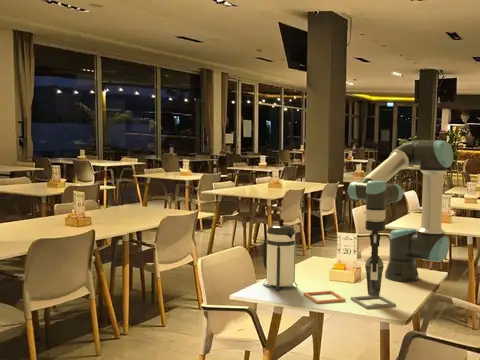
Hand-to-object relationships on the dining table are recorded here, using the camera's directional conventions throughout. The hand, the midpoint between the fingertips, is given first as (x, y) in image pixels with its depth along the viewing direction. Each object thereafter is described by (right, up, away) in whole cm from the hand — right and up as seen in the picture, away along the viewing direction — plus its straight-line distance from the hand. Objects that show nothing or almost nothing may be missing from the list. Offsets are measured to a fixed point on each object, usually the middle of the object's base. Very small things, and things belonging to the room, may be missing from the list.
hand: (374, 277), depth 223 cm
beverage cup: (0, -7, +1) cm, 7 cm away
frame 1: (-19, -10, +6) cm, 22 cm away
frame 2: (0, -10, +1) cm, 10 cm away
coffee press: (-37, -8, +24) cm, 45 cm away
